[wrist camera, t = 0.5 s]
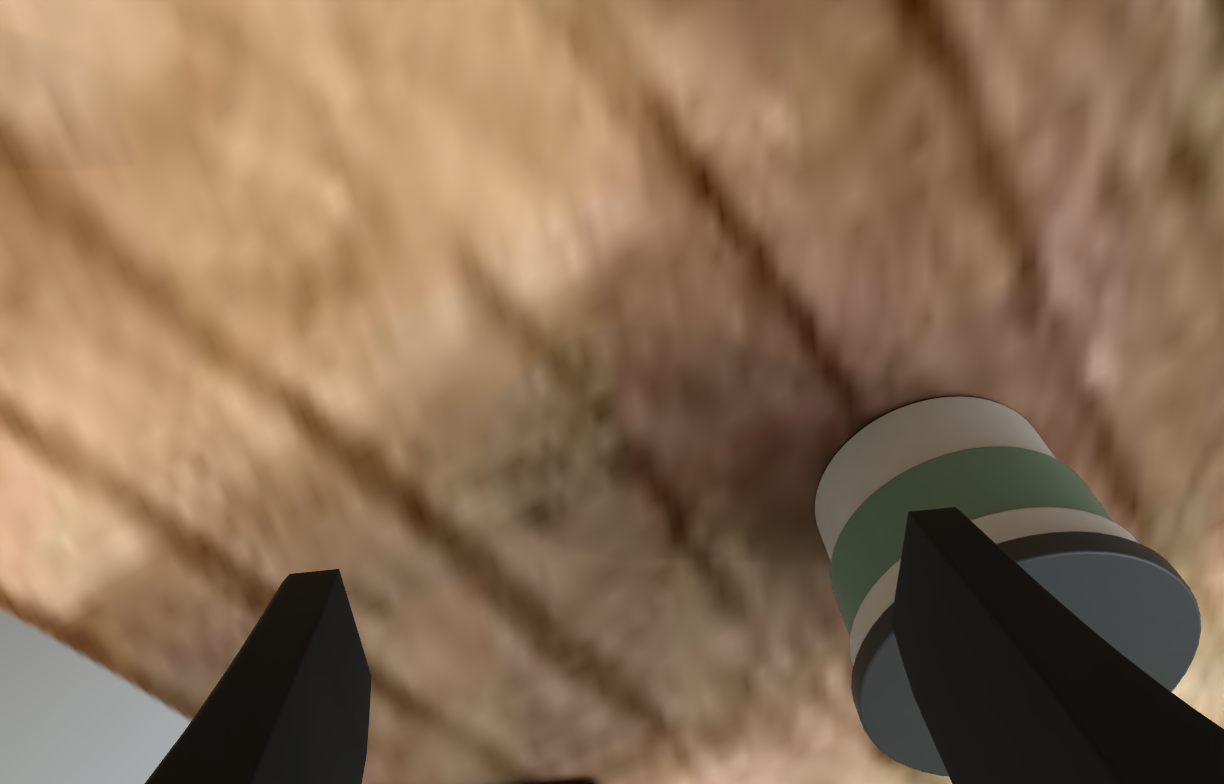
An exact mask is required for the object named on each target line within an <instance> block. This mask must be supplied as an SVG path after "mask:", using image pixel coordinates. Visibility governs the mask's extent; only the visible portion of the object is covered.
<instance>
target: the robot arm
mask: <svg viewBox="0 0 1224 784" xmlns="http://www.w3.org/2000/svg"><path fill="white" fill-rule="evenodd" d="M891 624H892V628H893V631H894V634H895V638H896V641H897V645H898V648H899V651H900V655H901V658H902V662H903V665H904V668H905V671H906V674H907V677H908V680H909V683H910V687H911V690H912V693H913V696H914V698H915V700H916V703H917V705H918V707H919V710H920V712H921V714H922V717H923V719H924V721H925V723H926V726H927V728H928V730H929V732H930V735H931V737H932V739H933V741H934V744H935V746H936V748H937V750H938V753H939V755H940V757H941V759H942V762H943V764H944V766H945V768H946V770H947V773H948V775H949V777H950V779H951V781H952V784H1224V729H1223V728H1221V727H1220V726H1218V725H1217V724H1215V723H1214V722H1212V721H1211V720H1209V719H1208V718H1207V717H1205V716H1204V715H1202V714H1201V713H1199V712H1198V711H1196V710H1195V709H1194V708H1192V707H1191V706H1189V705H1188V704H1187V703H1185V702H1184V701H1182V700H1181V699H1180V698H1178V697H1177V696H1176V695H1174V694H1173V693H1171V692H1170V691H1169V690H1167V689H1166V688H1165V687H1163V686H1162V685H1161V684H1160V683H1158V682H1157V681H1156V680H1154V679H1153V678H1152V677H1151V676H1149V675H1148V674H1147V673H1145V672H1144V671H1143V670H1142V669H1140V668H1139V667H1138V666H1136V665H1135V664H1134V663H1133V662H1131V661H1130V660H1129V659H1127V658H1126V657H1125V656H1124V655H1122V654H1121V653H1120V652H1119V651H1117V650H1116V649H1115V648H1114V647H1113V646H1111V645H1110V644H1109V643H1108V642H1106V641H1105V640H1104V639H1103V638H1102V637H1100V636H1099V635H1098V634H1097V633H1096V632H1095V631H1093V630H1092V629H1091V628H1090V627H1089V626H1088V625H1086V624H1085V623H1084V622H1083V621H1082V620H1081V619H1079V618H1078V617H1077V616H1076V615H1075V614H1074V613H1072V612H1071V611H1070V610H1069V609H1068V608H1067V607H1065V606H1064V605H1063V604H1062V603H1061V602H1060V601H1058V600H1057V599H1056V598H1055V597H1054V596H1053V595H1052V594H1051V593H1049V592H1048V591H1047V590H1046V589H1045V588H1044V587H1043V586H1042V585H1040V584H1039V583H1038V582H1037V581H1036V580H1035V579H1034V578H1033V577H1032V576H1030V575H1029V574H1028V573H1027V572H1026V571H1025V570H1024V569H1023V568H1022V567H1021V566H1020V565H1018V564H1017V563H1016V562H1015V561H1014V560H1013V559H1012V558H1011V557H1010V556H1009V555H1008V554H1006V553H1005V552H1004V551H1003V550H1002V549H1001V548H1000V547H999V546H998V545H997V544H996V543H995V542H993V541H992V540H991V539H990V538H989V537H988V536H987V535H986V534H985V533H984V532H983V531H982V530H981V529H979V528H978V527H977V526H976V525H975V524H974V523H973V522H972V521H971V520H970V519H968V518H967V517H966V516H965V515H964V514H963V513H962V512H961V511H960V510H959V509H957V508H956V507H949V508H939V509H929V510H919V511H910V512H908V517H907V524H906V530H905V536H904V543H903V549H902V555H901V561H900V568H899V574H898V580H897V587H896V593H895V599H894V605H893V612H892V618H891ZM370 693H371V674H370V670H369V667H368V664H367V661H366V657H365V654H364V651H363V647H362V644H361V641H360V637H359V634H358V631H357V627H356V624H355V621H354V617H353V614H352V611H351V607H350V604H349V601H348V598H347V594H346V591H345V588H344V584H343V581H342V578H341V574H340V571H339V569H335V570H325V571H315V572H305V573H295V574H289V575H288V577H287V578H286V579H285V580H284V581H283V582H282V584H281V585H280V587H279V589H278V590H277V592H276V593H275V595H274V597H273V598H272V600H271V602H270V603H269V605H268V606H267V608H266V610H265V611H264V613H263V615H262V616H261V618H260V619H259V621H258V623H257V624H256V626H255V627H254V629H253V630H252V632H251V634H250V635H249V637H248V638H247V640H246V641H245V643H244V645H243V646H242V648H241V649H240V651H239V652H238V654H237V655H236V657H235V658H234V660H233V661H232V663H231V665H230V666H229V668H228V669H227V671H226V672H225V673H224V675H223V676H222V678H221V679H220V681H219V682H218V684H217V685H216V687H215V688H214V689H213V691H212V692H211V694H210V695H209V697H208V698H207V700H206V701H205V703H204V704H203V705H202V707H201V708H200V710H199V711H198V713H197V714H196V716H195V717H194V719H193V720H192V721H191V723H190V724H189V726H188V727H187V728H186V730H185V731H184V733H183V734H182V735H181V737H180V738H179V739H178V741H177V742H176V743H175V744H174V746H173V747H172V748H171V750H170V751H169V752H168V754H167V755H166V756H165V758H164V759H163V760H162V762H161V763H160V764H159V766H158V767H157V768H156V770H155V771H154V772H153V773H152V775H151V776H150V778H149V779H148V780H147V781H146V783H145V784H361V783H362V778H363V772H364V766H365V761H366V754H367V741H368V727H369V711H370Z"/></svg>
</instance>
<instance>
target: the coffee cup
mask: <svg viewBox="0 0 1224 784" xmlns="http://www.w3.org/2000/svg"><path fill="white" fill-rule="evenodd" d="M949 507H956V508H957V509H959V510H960V511H961V512H962V513H963V514H964V515H965V516H966V517H967V518H968V519H970V520H971V521H972V522H973V523H974V524H975V525H976V526H977V527H978V528H979V529H981V530H982V531H983V532H984V533H985V534H986V535H987V536H988V537H989V538H990V539H991V540H992V541H993V542H995V543H996V544H997V545H998V546H999V547H1000V548H1001V549H1002V550H1003V551H1004V552H1005V553H1006V554H1008V555H1009V556H1010V557H1011V558H1012V559H1013V560H1014V561H1015V562H1016V563H1017V564H1018V565H1020V566H1021V567H1022V568H1023V569H1024V570H1025V571H1026V572H1027V573H1028V574H1029V575H1030V576H1032V577H1033V578H1034V579H1035V580H1036V581H1037V582H1038V583H1039V584H1040V585H1042V586H1043V587H1044V588H1045V589H1046V590H1047V591H1048V592H1049V593H1051V594H1052V595H1053V596H1054V597H1055V598H1056V599H1057V600H1058V601H1060V602H1061V603H1062V604H1063V605H1064V606H1065V607H1067V608H1068V609H1069V610H1070V611H1071V612H1072V613H1074V614H1075V615H1076V616H1077V617H1078V618H1079V619H1081V620H1082V621H1083V622H1084V623H1085V624H1086V625H1088V626H1089V627H1090V628H1091V629H1092V630H1093V631H1095V632H1096V633H1097V634H1098V635H1099V636H1100V637H1102V638H1103V639H1104V640H1105V641H1106V642H1108V643H1109V644H1110V645H1111V646H1113V647H1114V648H1115V649H1116V650H1117V651H1119V652H1120V653H1121V654H1122V655H1124V656H1125V657H1126V658H1127V659H1129V660H1130V661H1131V662H1133V663H1134V664H1135V665H1136V666H1138V667H1139V668H1140V669H1142V670H1143V671H1144V672H1145V673H1147V674H1148V675H1149V676H1151V677H1152V678H1153V679H1154V680H1156V681H1157V682H1158V683H1160V684H1161V685H1162V686H1163V687H1165V688H1166V689H1167V690H1169V691H1170V692H1172V690H1173V689H1174V688H1175V687H1176V686H1177V684H1178V683H1179V682H1180V680H1181V679H1182V677H1183V676H1184V675H1185V673H1186V671H1187V670H1188V668H1189V666H1190V664H1191V662H1192V660H1193V658H1194V655H1195V653H1196V650H1197V647H1198V644H1199V638H1200V632H1201V621H1200V612H1199V608H1198V605H1197V601H1196V599H1195V597H1194V595H1193V593H1192V592H1191V590H1190V588H1189V587H1188V585H1187V584H1186V583H1185V582H1184V580H1183V579H1182V578H1181V576H1180V575H1179V574H1178V572H1177V571H1176V570H1175V569H1174V568H1173V567H1172V566H1171V564H1170V563H1169V562H1168V561H1167V560H1166V559H1164V558H1163V557H1162V556H1160V555H1159V554H1158V553H1156V552H1155V551H1154V550H1152V549H1150V548H1148V547H1145V546H1143V545H1141V544H1139V543H1138V542H1137V540H1136V539H1135V538H1134V537H1133V536H1132V535H1131V534H1130V533H1129V532H1128V531H1126V530H1125V529H1123V528H1122V527H1121V526H1119V525H1118V524H1116V523H1114V521H1113V520H1112V519H1111V517H1110V516H1109V515H1108V513H1107V512H1106V511H1105V509H1104V508H1103V507H1102V505H1101V504H1100V503H1099V501H1098V500H1097V499H1096V497H1095V496H1094V494H1093V493H1092V492H1091V490H1090V489H1089V488H1088V486H1087V485H1086V484H1085V482H1084V481H1083V480H1082V479H1081V478H1080V477H1079V475H1078V474H1077V473H1076V472H1075V471H1074V470H1072V469H1071V468H1070V467H1069V466H1067V465H1066V464H1065V463H1063V462H1061V461H1059V460H1057V459H1056V458H1055V457H1054V455H1053V454H1052V453H1051V451H1050V450H1049V449H1048V447H1047V446H1046V444H1045V443H1044V442H1043V440H1042V439H1041V438H1040V436H1039V435H1038V433H1037V432H1036V431H1035V429H1034V428H1033V427H1032V426H1031V425H1030V423H1029V422H1028V421H1027V420H1026V419H1025V418H1024V417H1022V416H1021V415H1020V414H1018V413H1017V412H1016V411H1014V410H1012V409H1010V408H1008V407H1006V406H1004V405H1002V404H999V403H996V402H993V401H990V400H985V399H981V398H975V397H962V396H960V397H942V398H935V399H929V400H925V401H921V402H917V403H913V404H910V405H907V406H905V407H902V408H899V409H897V410H894V411H892V412H890V413H888V414H886V415H884V416H882V417H880V418H879V419H877V420H875V421H873V422H872V423H870V424H869V425H867V426H866V427H864V428H863V429H862V430H860V431H859V432H858V433H856V434H855V435H854V436H853V437H852V438H851V439H850V440H849V441H847V442H846V443H845V444H844V445H843V447H842V448H841V449H840V450H839V451H838V452H837V453H836V455H835V456H834V457H833V459H832V460H831V462H830V463H829V465H828V466H827V468H826V470H825V472H824V474H823V476H822V478H821V481H820V483H819V486H818V489H817V494H816V500H815V517H816V523H817V526H818V529H819V532H820V534H821V537H822V540H823V542H824V545H825V548H826V550H827V553H828V556H829V558H830V561H831V564H830V579H831V585H832V589H833V592H834V595H835V598H836V600H837V603H838V606H839V609H840V611H841V614H842V617H843V619H844V622H845V625H846V628H847V630H848V633H849V636H850V653H851V660H852V663H853V666H854V667H853V671H852V685H851V688H852V694H853V700H854V703H855V706H856V709H857V712H858V715H859V718H860V720H861V723H862V725H863V728H864V730H865V732H866V733H867V735H868V736H869V738H870V739H871V741H872V742H873V743H874V744H875V745H876V746H877V747H878V748H879V749H880V750H881V751H882V752H883V753H885V754H886V755H888V756H889V757H891V758H892V759H893V760H895V761H897V762H899V763H901V764H903V765H905V766H907V767H910V768H913V769H916V770H919V771H922V772H926V773H931V774H936V775H941V776H949V775H948V773H947V770H946V768H945V766H944V764H943V762H942V759H941V757H940V755H939V753H938V750H937V748H936V746H935V744H934V741H933V739H932V737H931V735H930V732H929V730H928V728H927V726H926V723H925V721H924V719H923V717H922V714H921V712H920V710H919V707H918V705H917V703H916V700H915V698H914V696H913V693H912V690H911V687H910V683H909V680H908V677H907V674H906V671H905V668H904V665H903V662H902V658H901V655H900V651H899V648H898V645H897V641H896V638H895V634H894V631H893V628H892V624H891V618H892V612H893V605H894V599H895V593H896V587H897V580H898V574H899V568H900V561H901V555H902V549H903V543H904V536H905V530H906V524H907V517H908V512H910V511H919V510H929V509H939V508H949Z"/></svg>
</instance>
